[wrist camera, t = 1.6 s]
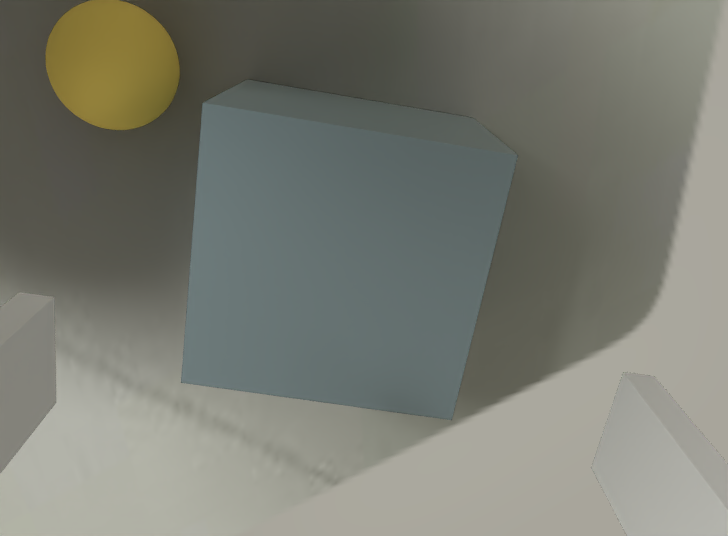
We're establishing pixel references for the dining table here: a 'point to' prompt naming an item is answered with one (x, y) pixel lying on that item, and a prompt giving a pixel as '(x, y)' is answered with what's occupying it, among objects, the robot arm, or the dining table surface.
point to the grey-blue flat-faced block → (340, 248)
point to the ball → (112, 64)
